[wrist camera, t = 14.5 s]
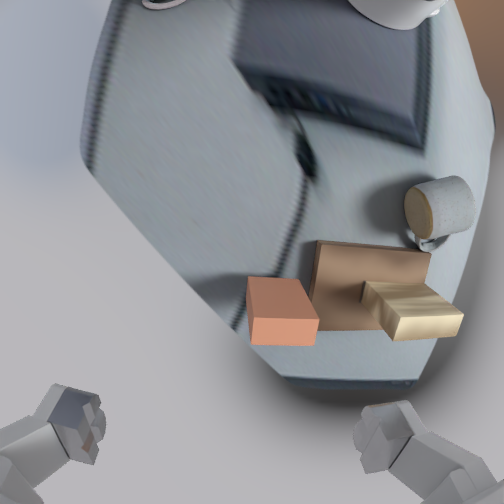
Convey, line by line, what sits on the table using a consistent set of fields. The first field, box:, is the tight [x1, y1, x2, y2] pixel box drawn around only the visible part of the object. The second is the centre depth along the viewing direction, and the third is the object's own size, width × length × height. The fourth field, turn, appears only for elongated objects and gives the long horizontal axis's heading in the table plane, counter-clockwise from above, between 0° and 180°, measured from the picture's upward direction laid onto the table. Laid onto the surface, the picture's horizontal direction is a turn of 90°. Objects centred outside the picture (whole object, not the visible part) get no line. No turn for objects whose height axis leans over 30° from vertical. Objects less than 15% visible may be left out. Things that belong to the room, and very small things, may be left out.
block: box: [246, 276, 320, 346], centre depth 33 cm, size 3×6×10 cm, turn 85°
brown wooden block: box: [308, 240, 464, 341], centre depth 36 cm, size 12×17×12 cm
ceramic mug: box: [404, 176, 476, 252], centre depth 35 cm, size 11×8×8 cm
